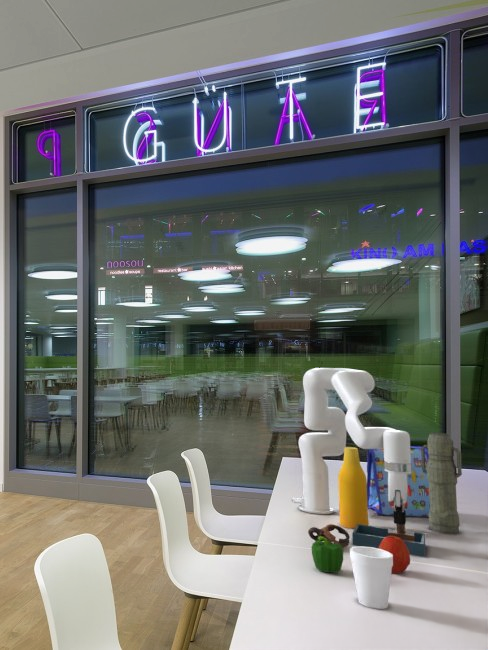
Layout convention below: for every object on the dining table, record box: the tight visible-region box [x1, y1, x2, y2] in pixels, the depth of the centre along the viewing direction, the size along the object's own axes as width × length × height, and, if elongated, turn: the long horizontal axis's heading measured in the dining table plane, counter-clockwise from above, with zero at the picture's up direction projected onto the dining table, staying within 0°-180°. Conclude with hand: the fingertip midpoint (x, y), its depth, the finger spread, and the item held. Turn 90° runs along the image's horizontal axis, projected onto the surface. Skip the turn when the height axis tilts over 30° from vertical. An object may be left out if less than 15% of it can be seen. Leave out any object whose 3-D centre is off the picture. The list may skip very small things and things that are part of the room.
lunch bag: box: [366, 445, 430, 518], centre depth 244 cm, size 22×14×29 cm, turn 80°
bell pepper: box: [311, 536, 344, 574], centre depth 179 cm, size 8×8×10 cm
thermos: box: [421, 432, 463, 535], centre depth 220 cm, size 9×12×35 cm
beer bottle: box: [337, 446, 370, 530], centre depth 225 cm, size 9×9×29 cm
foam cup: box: [349, 546, 393, 610], centre depth 155 cm, size 10×9×13 cm
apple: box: [378, 535, 411, 574], centre depth 178 cm, size 8×8×11 cm
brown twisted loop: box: [307, 523, 350, 549], centre depth 200 cm, size 12×10×8 cm
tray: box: [352, 524, 427, 558], centre depth 202 cm, size 20×14×4 cm
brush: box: [388, 524, 415, 542], centre depth 201 cm, size 7×5×12 cm
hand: (400, 522), depth 201 cm, fingers closed on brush, 2 cm apart
